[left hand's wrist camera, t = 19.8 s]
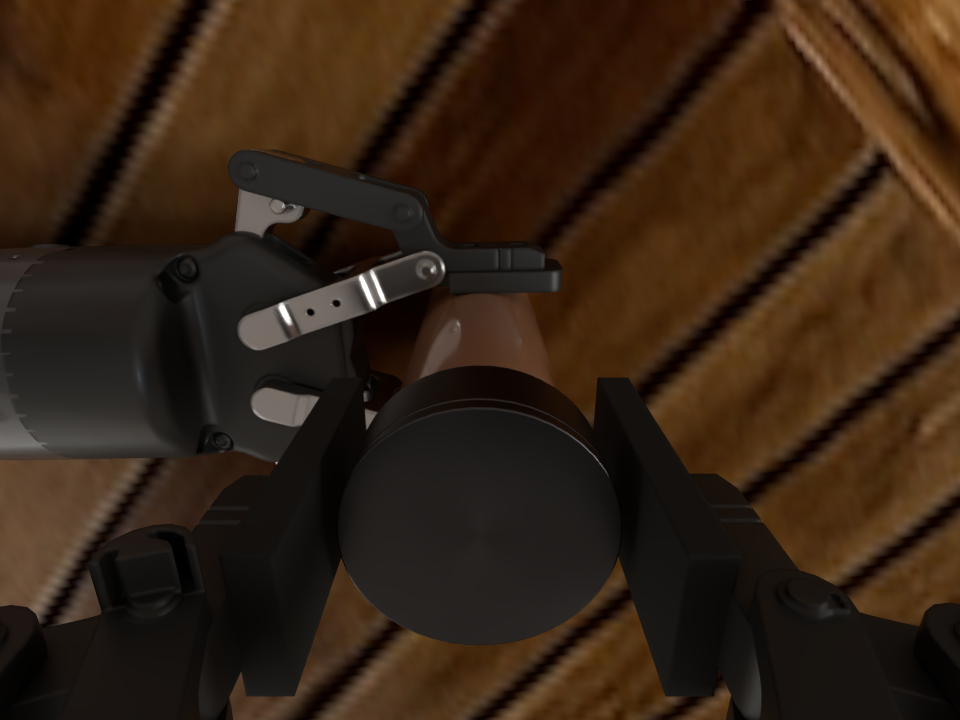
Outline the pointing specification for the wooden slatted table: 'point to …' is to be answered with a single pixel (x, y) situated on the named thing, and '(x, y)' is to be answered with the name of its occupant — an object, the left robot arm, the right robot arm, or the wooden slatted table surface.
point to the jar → (479, 335)
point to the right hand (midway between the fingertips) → (554, 343)
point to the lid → (479, 508)
